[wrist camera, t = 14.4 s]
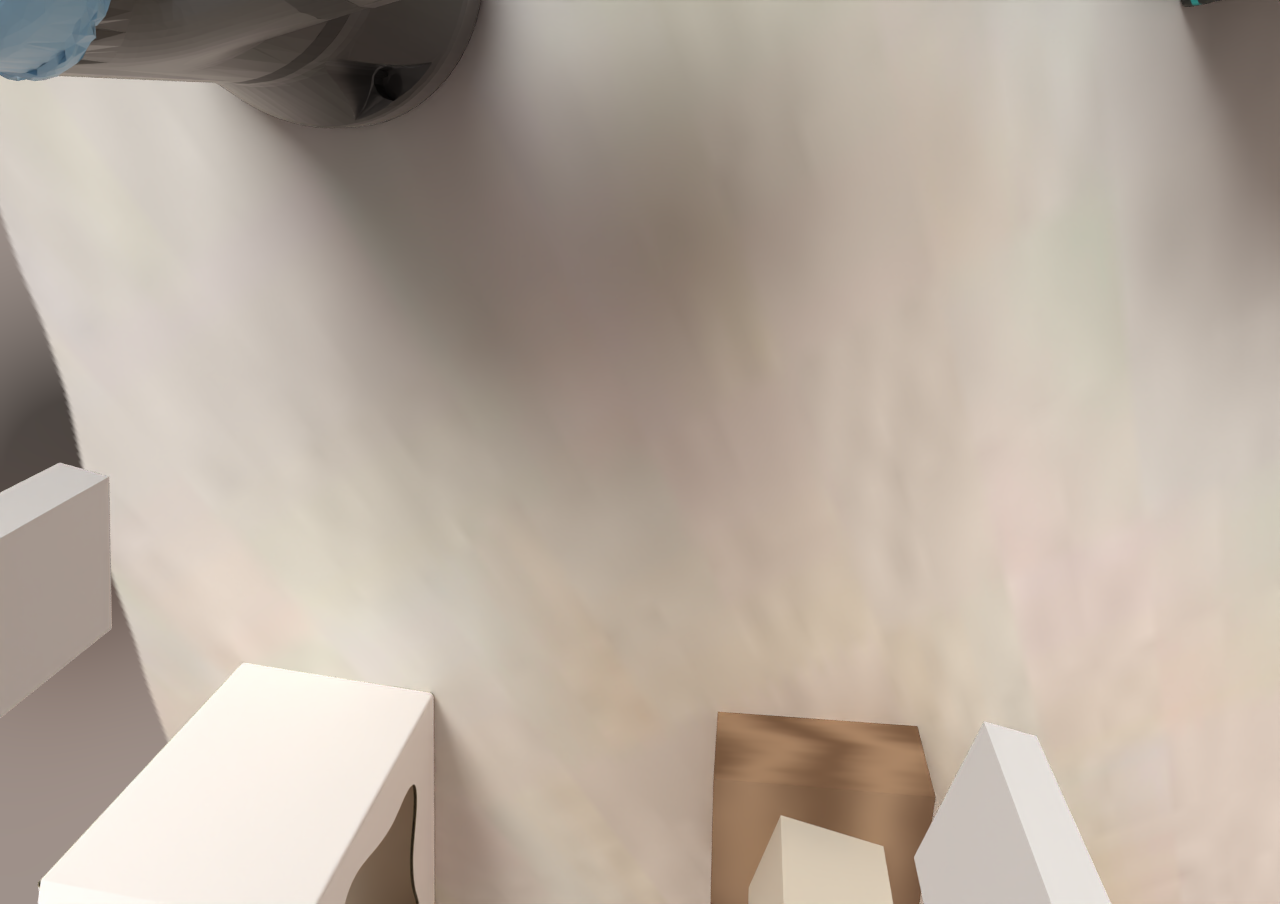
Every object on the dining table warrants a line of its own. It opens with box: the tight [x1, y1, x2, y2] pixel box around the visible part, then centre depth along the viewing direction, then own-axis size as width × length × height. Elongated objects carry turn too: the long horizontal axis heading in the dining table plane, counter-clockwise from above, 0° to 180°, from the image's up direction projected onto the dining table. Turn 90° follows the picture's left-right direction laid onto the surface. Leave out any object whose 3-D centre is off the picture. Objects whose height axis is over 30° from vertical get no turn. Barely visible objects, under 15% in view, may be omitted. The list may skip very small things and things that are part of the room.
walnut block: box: [711, 712, 935, 904], centre depth 52 cm, size 12×12×6 cm
